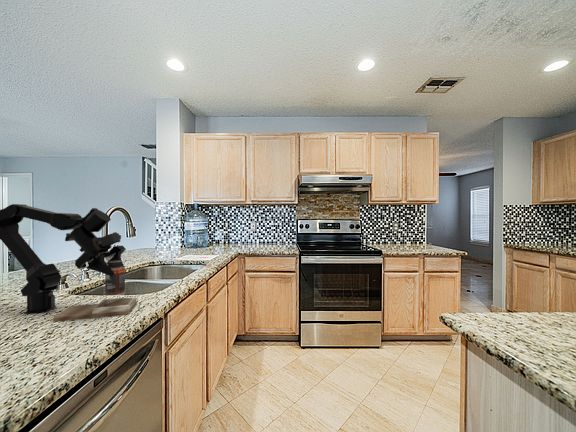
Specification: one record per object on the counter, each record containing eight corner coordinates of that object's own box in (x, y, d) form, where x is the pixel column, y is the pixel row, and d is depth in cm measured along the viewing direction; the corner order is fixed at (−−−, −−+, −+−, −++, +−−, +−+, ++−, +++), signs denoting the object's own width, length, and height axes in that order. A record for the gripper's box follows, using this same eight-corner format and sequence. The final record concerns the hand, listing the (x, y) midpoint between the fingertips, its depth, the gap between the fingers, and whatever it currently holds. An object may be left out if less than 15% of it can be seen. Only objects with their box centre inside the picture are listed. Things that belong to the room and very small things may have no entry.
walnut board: (53, 321, 87) (53, 312, 87) (71, 309, 98) (71, 301, 98) (128, 314, 93) (128, 306, 93) (136, 303, 104) (136, 296, 104)
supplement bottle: (126, 290, 101) (127, 259, 101) (122, 294, 95) (122, 262, 95) (107, 291, 99) (108, 260, 99) (102, 296, 93) (102, 262, 93)
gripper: (84, 226, 88) (118, 261, 87) (120, 224, 106) (149, 253, 106) (59, 251, 88) (93, 286, 88) (100, 244, 106) (128, 273, 106)
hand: (119, 273), depth 97 cm, fingers closed on supplement bottle, 6 cm apart
